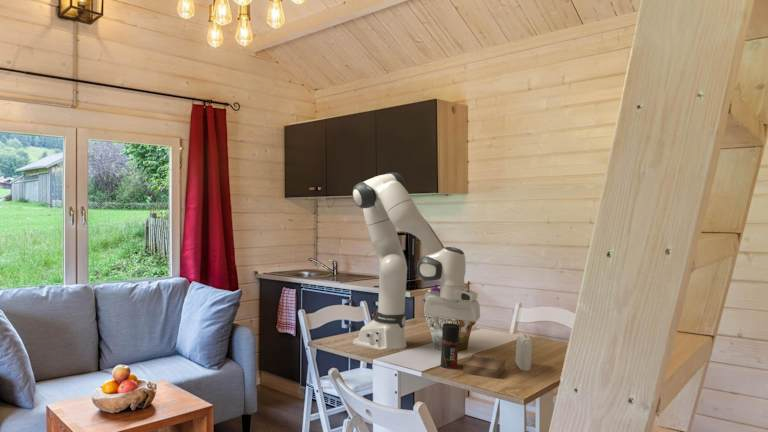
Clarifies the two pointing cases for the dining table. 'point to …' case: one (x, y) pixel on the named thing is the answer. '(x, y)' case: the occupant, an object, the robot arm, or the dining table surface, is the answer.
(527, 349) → the photo printer
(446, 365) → the deodorant
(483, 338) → the dining table surface
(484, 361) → the walnut block
